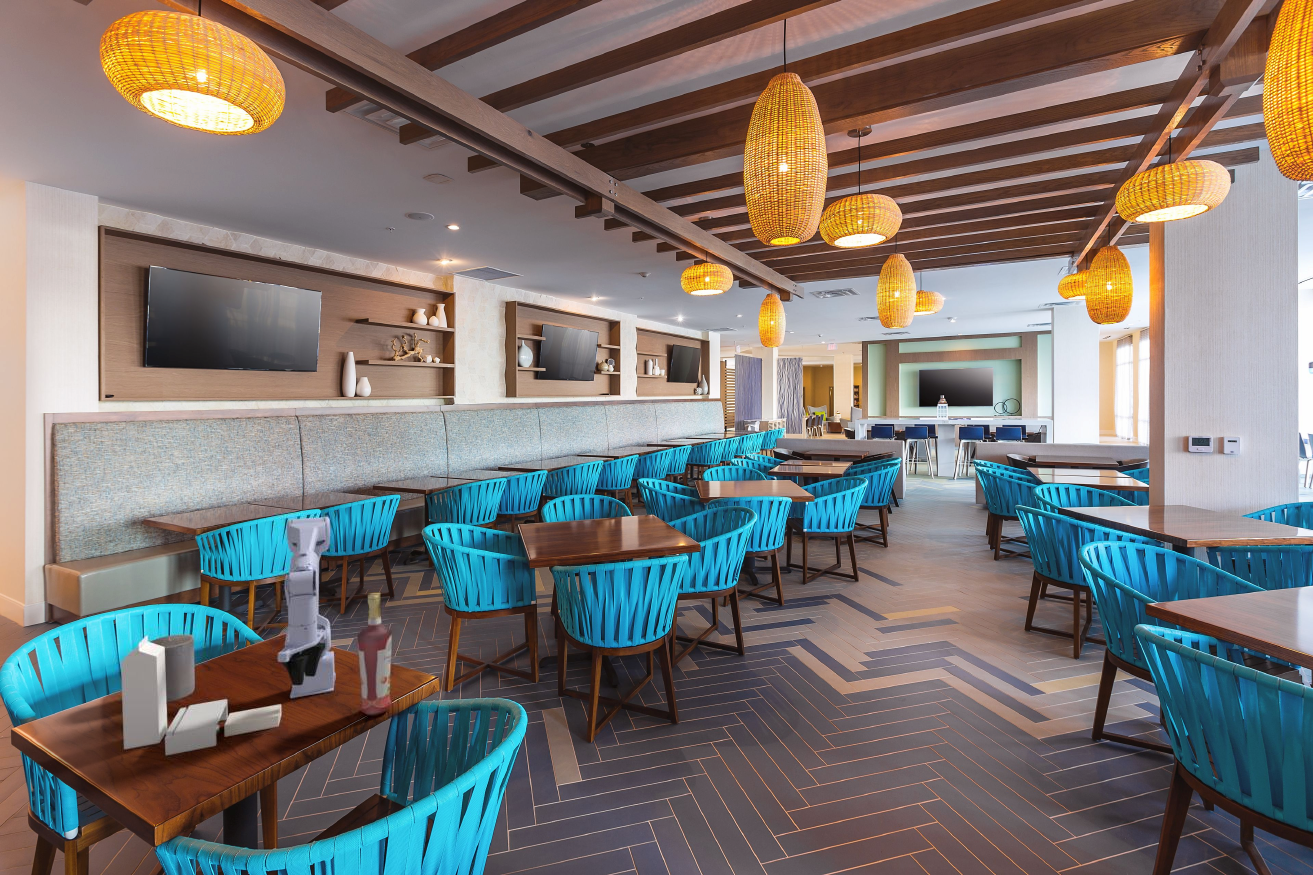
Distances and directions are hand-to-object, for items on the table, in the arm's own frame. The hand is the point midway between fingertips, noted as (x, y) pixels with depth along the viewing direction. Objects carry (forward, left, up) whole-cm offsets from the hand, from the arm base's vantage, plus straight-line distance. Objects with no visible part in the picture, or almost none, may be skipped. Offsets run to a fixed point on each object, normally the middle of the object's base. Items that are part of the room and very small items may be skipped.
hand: (304, 680), depth 142 cm
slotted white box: (+20, 0, -8) cm, 22 cm away
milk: (+30, -3, -9) cm, 31 cm away
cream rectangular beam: (+10, 0, -8) cm, 13 cm away
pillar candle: (+31, -27, -9) cm, 42 cm away
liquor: (-15, +5, -9) cm, 18 cm away
